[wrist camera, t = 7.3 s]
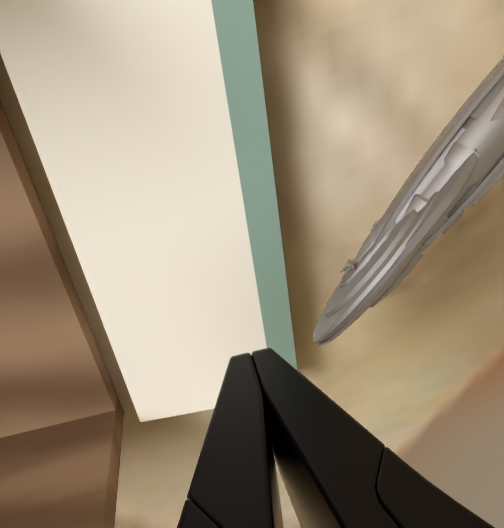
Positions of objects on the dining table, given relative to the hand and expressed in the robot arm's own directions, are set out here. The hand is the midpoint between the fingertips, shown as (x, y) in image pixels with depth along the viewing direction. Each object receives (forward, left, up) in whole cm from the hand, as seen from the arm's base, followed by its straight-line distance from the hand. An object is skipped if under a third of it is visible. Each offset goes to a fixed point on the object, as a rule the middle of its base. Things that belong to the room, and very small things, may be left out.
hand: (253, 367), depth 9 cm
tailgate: (0, +5, -9) cm, 10 cm away
